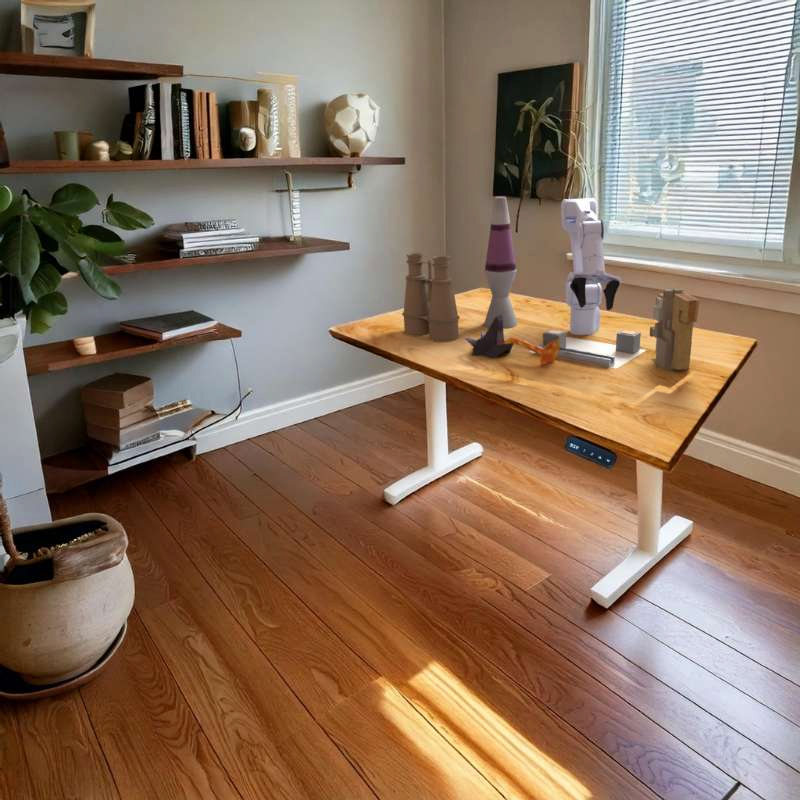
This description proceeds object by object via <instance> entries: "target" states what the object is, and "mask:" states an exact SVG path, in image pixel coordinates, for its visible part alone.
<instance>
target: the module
mask: <svg viewBox="0 0 800 800" xmlns="http://www.w3.org/2000/svg"><path fill="white" fill-rule="evenodd" d="M641 336H642V333H641V332H639V331H633V330H632V331H631V330H626V329H622V330H621V331H619V332H617V333H616V340H615V341H616V343H615V345H616V351H618V352H624V353H630V354H634V353H636V352H637V351H639V350H640V349H641Z"/></svg>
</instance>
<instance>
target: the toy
mask: <svg viewBox="0 0 800 800" xmlns="http://www.w3.org/2000/svg"><path fill="white" fill-rule="evenodd" d="M683 291H684V290H683V289H682V288H672V289H671V288H666V289H663V291H662V292H663V293H658V295H657V297H656V296H655V305H653V311H652V318H653V319H655V320H657V322H656V323H654V326H650V327H649V337H652V338H656V339H655V350H654V352H655V353H656V354H655V358H650V360H651V361H652V362H653V363H654V364H656V365H657V366H658V367H659V368H661V369H662V370H663V371H664V370H665V371H666V370H667V371H668V370H688V369H690V363H691V362H690V361H691V353H692V343H693V341H692V340H693V331H694V330H693V329H694V323H698V315H699V307H700V300H699V299H698V298H696V297H694V296H693V295H690V294H689V293H687V292H686V293H684V292H683Z"/></svg>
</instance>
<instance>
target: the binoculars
mask: <svg viewBox="0 0 800 800" xmlns="http://www.w3.org/2000/svg"><path fill="white" fill-rule="evenodd" d="M423 256H424V252H408V253H406V257H407V260H406V264H407V265H408V275H406V276H405V281H406V282H405V290H404V291H405V294H404V305H403V312H401V313H402V315H401V316H402V317H403V325H404V334H405V335H406V334H407V335H406V336H409V335H411V336H410V337H424V336H423V335H425V336H428V339H429V340H430V341H432V340H433V342H437V341H438V342H437V343H443V342H445V343H447V341H448V342H452V341H456V340H458V339H460V338H459V337H460V334H459V320H460V316H459V314H458V309H457V304H456V302H457V301H456V296H455V295H456V294H455V291H454V285H453V283H454V280H453V278H452V277H450V266H451V265H452V264H451V263H452V262H450V258H451V255H447V254H445V255H444V254H439V255H434V256H432V260H431V259H428V260H425V259H423V258H424V257H423ZM423 264H427V267H428V269H427V271H428V276H427V275H426V274H425V273H424V265H423ZM432 267H433V270H434V271H433V272H434V273H433V274H434V275H433V276H434V277H433V276H432ZM428 334H429V335H428Z"/></svg>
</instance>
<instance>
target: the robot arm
mask: <svg viewBox="0 0 800 800" xmlns="http://www.w3.org/2000/svg"><path fill="white" fill-rule="evenodd" d="M560 207H561V208H560V214H561V215H560V216H561V217H560V218H561V225H562V229H563V230H564V231H566V232H568V235H569V240H570V244H571V254H572V255H571V256H572V265H573V271H570V272H569V273H568V274H567V276H566V277H567V281H566V283H565V303H566V305H567V306H568V307H569V306H570V314H569V315H570V317H569V319H570V321H569V333H570V334H572V335H574V336H575V335H576V336H590V335H593V334H594V333H595V332H597V331H598V330H600V327H601V326H600V325H601V309H600V308H599V306H600V304H601V303H602V299H603V294H604V299H605V306H606V311H611V310H612V309H613V307H614V301H615V297H616V294H617V292H618V289H619V287H620V286H621V284H622V277H621V276H616V275H613V274H611V273H607V272H606V269H605V257H604V242H603V241H604V237H605V225H604V224H605V223H604V221H603V219H599V220H598V217H597V215H596V211H597V203H596V199H595V198H594V197H587V198H569V199H566V198H563V199H562V201H561V206H560ZM602 285H605V288H604V289H603V288H602Z"/></svg>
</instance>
